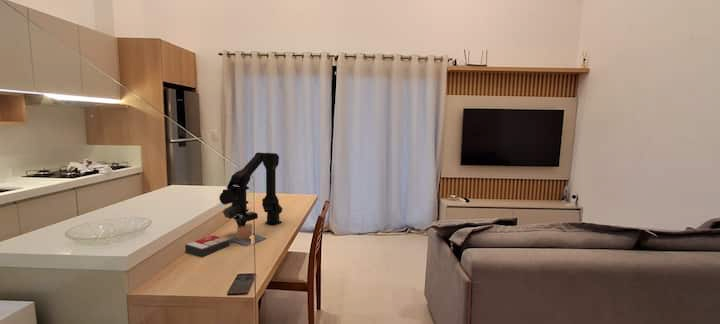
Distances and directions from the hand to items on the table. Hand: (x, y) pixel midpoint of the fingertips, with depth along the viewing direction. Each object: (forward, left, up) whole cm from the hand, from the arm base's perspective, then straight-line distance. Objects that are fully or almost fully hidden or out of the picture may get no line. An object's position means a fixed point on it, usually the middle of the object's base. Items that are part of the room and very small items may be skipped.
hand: (241, 230), depth 166 cm
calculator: (+17, -1, -4) cm, 18 cm away
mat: (0, +5, -4) cm, 6 cm away
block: (0, +2, -3) cm, 4 cm away
